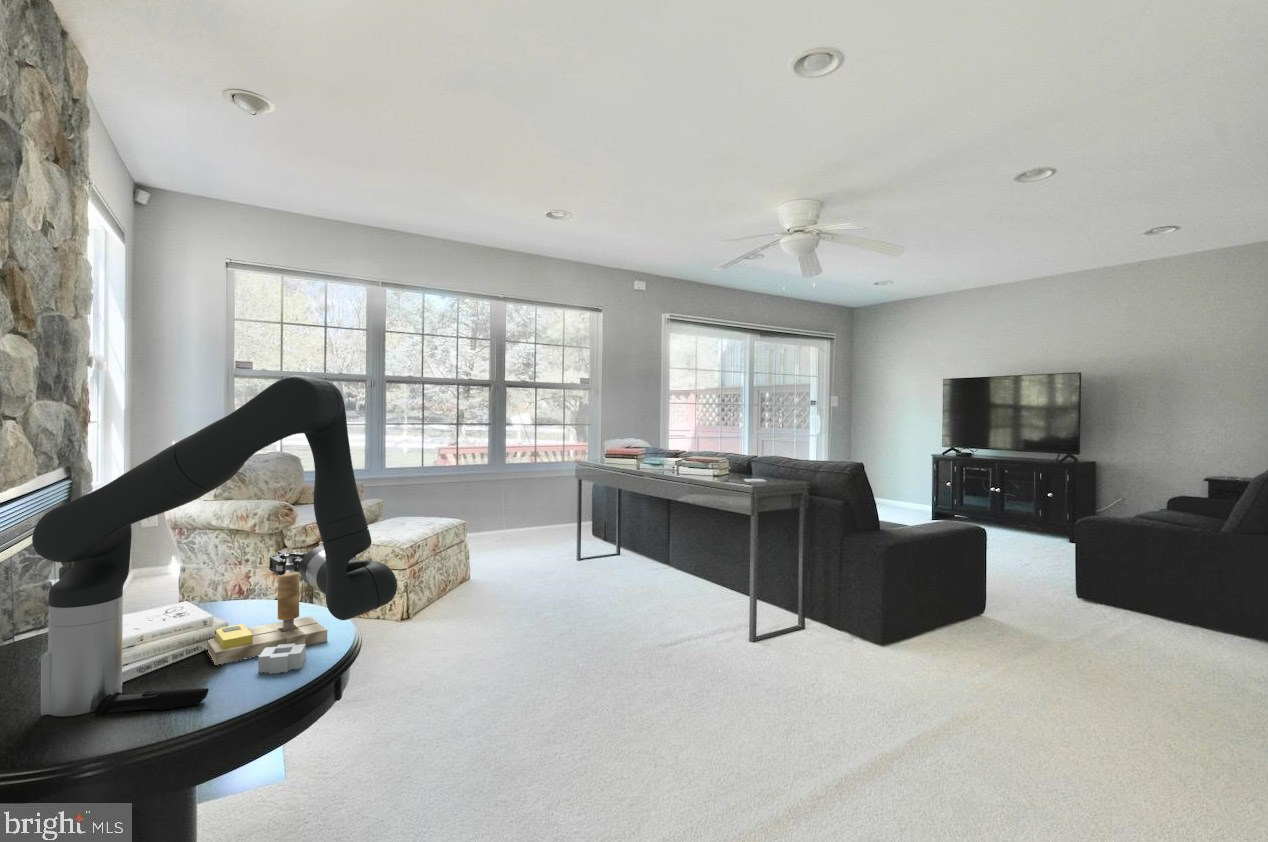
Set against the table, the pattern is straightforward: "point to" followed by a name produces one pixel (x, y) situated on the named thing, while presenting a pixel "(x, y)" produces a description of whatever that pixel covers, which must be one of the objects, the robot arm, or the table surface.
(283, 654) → the block
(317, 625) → the board
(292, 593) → the awl
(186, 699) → the electric trimmer
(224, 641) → the block
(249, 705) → the table surface
